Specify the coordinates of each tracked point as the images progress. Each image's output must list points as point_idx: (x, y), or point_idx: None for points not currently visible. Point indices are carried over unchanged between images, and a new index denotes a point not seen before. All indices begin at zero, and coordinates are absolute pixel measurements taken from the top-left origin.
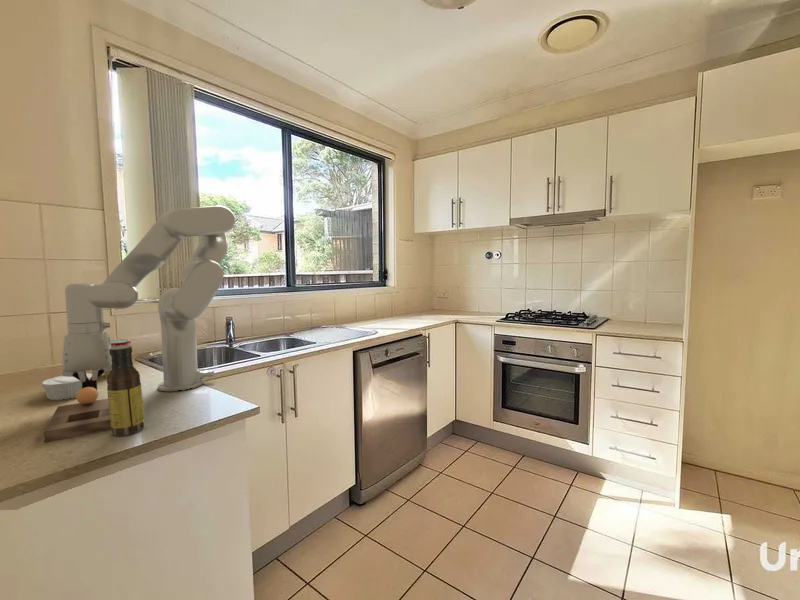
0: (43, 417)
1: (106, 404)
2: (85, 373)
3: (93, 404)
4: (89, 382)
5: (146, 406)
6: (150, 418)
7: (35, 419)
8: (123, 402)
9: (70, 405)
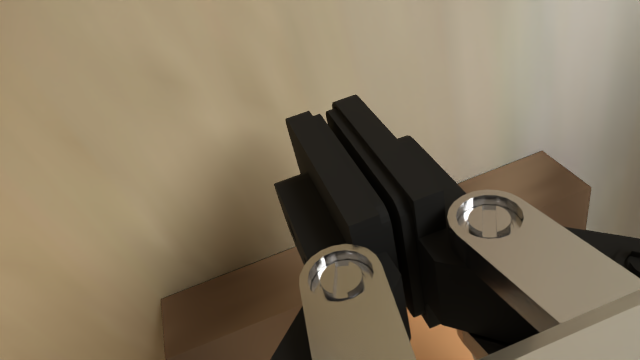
0: (60, 319)
1: None
2: (404, 350)
3: None
4: (415, 314)
5: (625, 213)
6: None
7: (26, 347)
8: None
9: (256, 344)
